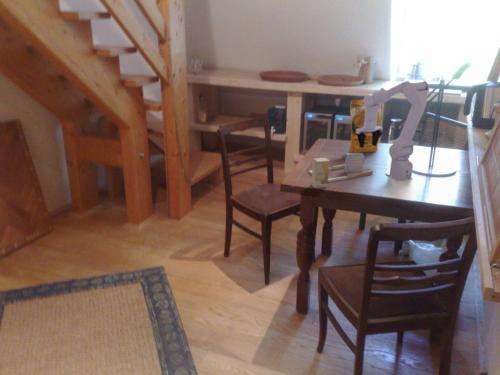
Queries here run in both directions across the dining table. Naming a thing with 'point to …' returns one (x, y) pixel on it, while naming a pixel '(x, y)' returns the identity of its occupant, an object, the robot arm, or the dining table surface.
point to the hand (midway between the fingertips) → (367, 146)
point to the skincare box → (320, 172)
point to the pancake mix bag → (361, 126)
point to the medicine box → (354, 162)
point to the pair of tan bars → (352, 173)
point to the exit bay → (333, 178)
